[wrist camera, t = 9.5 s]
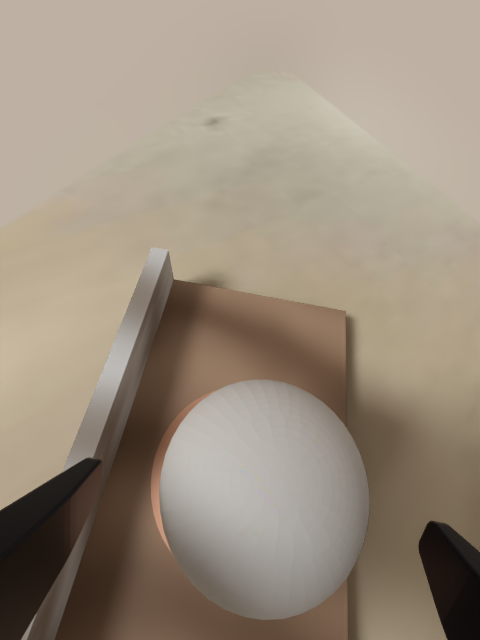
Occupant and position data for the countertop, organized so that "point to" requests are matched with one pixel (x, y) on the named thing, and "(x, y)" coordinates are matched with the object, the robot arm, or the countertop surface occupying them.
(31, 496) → the robot arm
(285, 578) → the light bulb
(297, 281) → the countertop surface
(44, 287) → the countertop surface
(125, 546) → the board
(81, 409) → the countertop surface
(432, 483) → the countertop surface
